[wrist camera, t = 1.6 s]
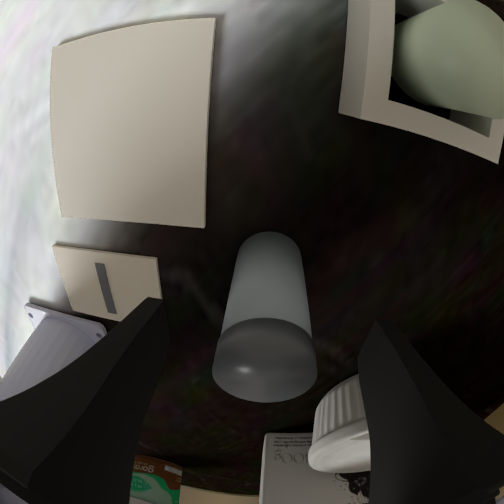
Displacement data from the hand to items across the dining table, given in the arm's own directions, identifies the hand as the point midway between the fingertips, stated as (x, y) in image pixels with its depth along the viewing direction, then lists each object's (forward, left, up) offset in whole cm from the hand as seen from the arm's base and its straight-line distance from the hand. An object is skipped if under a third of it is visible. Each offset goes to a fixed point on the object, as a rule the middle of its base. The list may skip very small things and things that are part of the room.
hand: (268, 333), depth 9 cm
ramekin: (-12, -10, -5) cm, 16 cm away
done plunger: (+10, -5, -3) cm, 12 cm away
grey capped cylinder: (0, 0, -5) cm, 5 cm away
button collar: (+10, -5, -5) cm, 12 cm away
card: (-3, +9, -5) cm, 11 cm away
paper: (+6, +7, -5) cm, 10 cm away
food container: (-39, +14, -5) cm, 42 cm away
